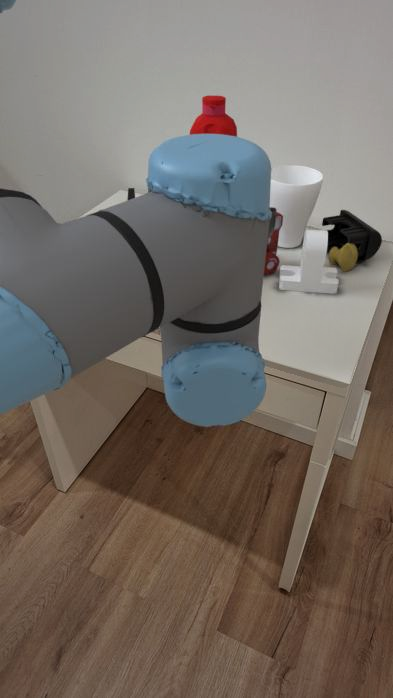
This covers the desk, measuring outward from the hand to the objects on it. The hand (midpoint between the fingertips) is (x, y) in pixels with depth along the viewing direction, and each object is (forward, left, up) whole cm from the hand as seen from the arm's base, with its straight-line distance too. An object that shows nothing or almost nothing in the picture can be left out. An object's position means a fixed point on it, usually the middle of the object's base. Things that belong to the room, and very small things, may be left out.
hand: (185, 196), depth 62 cm
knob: (+34, +4, -22) cm, 40 cm away
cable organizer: (+24, +2, -22) cm, 33 cm away
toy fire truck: (+17, +11, -22) cm, 30 cm away
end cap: (+38, +7, -21) cm, 44 cm away
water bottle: (+21, +32, -22) cm, 44 cm away
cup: (+30, +17, -22) cm, 41 cm away
